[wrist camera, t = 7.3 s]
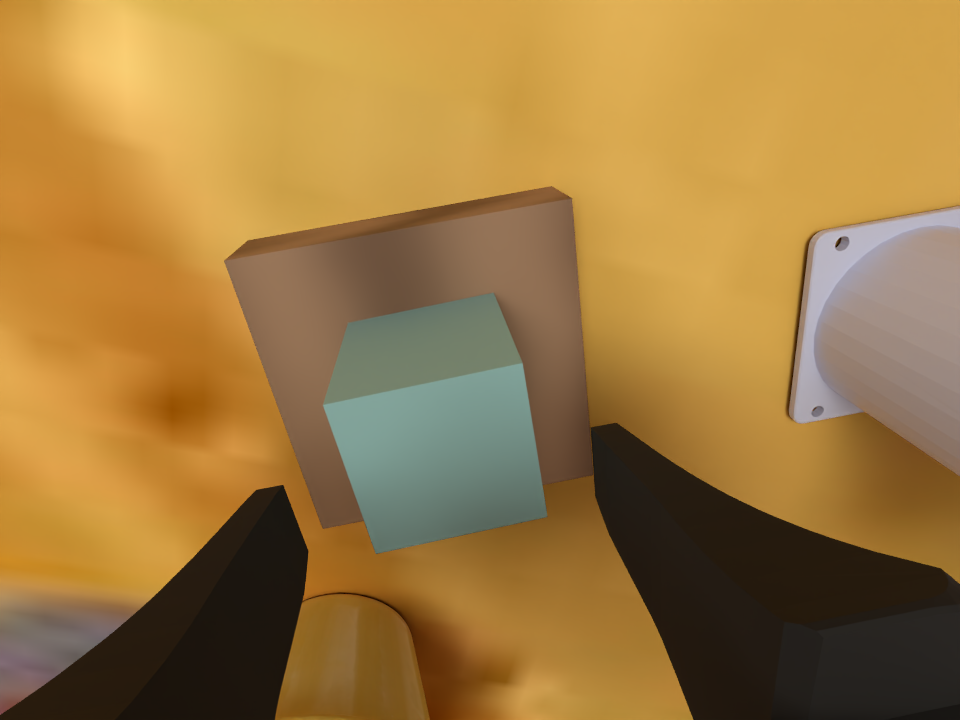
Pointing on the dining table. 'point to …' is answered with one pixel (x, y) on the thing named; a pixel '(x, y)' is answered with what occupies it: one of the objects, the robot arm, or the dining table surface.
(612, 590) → the dining table surface
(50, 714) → the robot arm
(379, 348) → the teal block
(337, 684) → the plant pot
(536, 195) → the walnut block
